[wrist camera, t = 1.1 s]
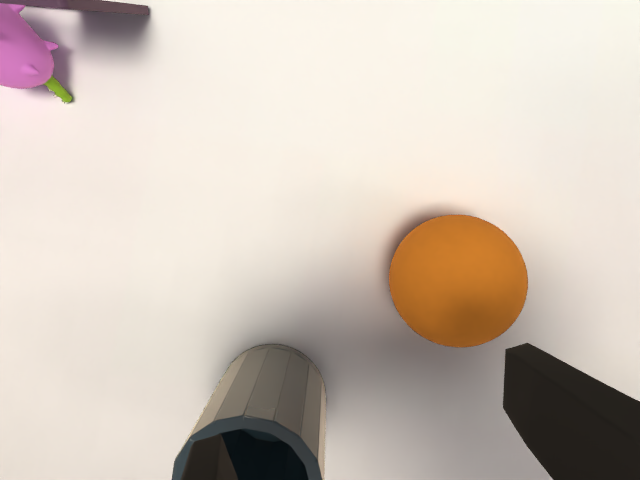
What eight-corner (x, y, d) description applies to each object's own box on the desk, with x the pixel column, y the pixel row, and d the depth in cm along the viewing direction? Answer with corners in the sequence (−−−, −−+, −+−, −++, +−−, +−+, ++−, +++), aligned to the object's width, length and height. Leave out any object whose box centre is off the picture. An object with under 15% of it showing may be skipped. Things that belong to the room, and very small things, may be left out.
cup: (333, 353, 22) (335, 432, 15) (315, 450, 22) (308, 569, 15) (229, 335, 22) (182, 404, 15) (214, 432, 22) (162, 542, 15)
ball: (507, 222, 21) (572, 234, 15) (482, 331, 21) (535, 382, 16) (394, 201, 21) (417, 206, 15) (372, 312, 21) (386, 355, 16)
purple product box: (58, -32, 13) (-221, -56, 14) (85, 134, 16) (-153, 112, 16) (147, -13, 19) (-47, -30, 20) (158, 105, 22) (-15, 89, 22)
